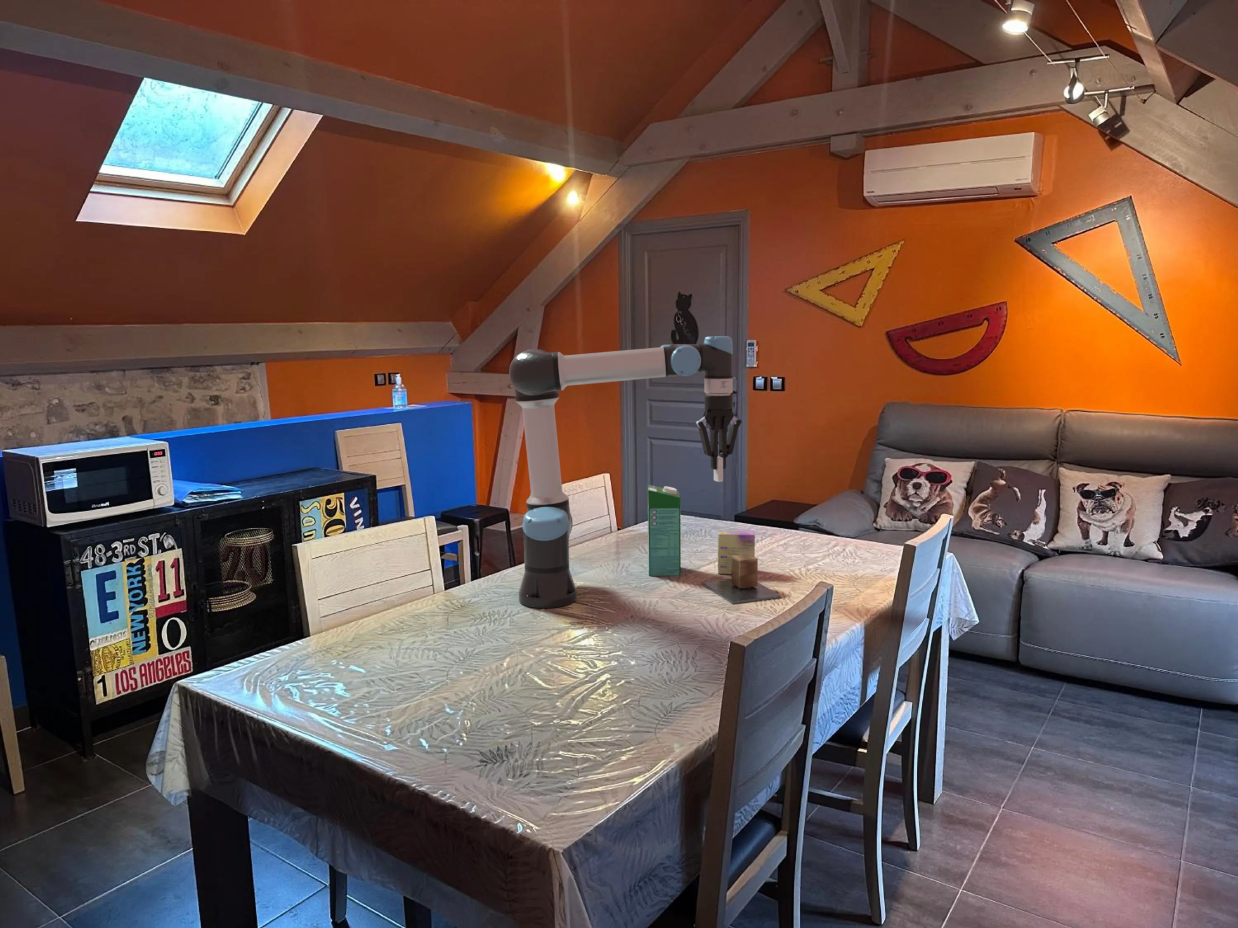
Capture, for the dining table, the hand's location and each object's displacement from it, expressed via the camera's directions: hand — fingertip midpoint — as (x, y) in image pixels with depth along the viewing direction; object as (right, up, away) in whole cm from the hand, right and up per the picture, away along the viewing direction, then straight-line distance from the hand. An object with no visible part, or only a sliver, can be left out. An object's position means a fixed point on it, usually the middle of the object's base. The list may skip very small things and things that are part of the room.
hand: (718, 480), depth 233 cm
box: (+7, -27, +14) cm, 31 cm away
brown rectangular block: (+7, -28, -2) cm, 29 cm away
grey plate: (+6, -29, -4) cm, 30 cm away
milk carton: (-14, -27, +15) cm, 34 cm away
